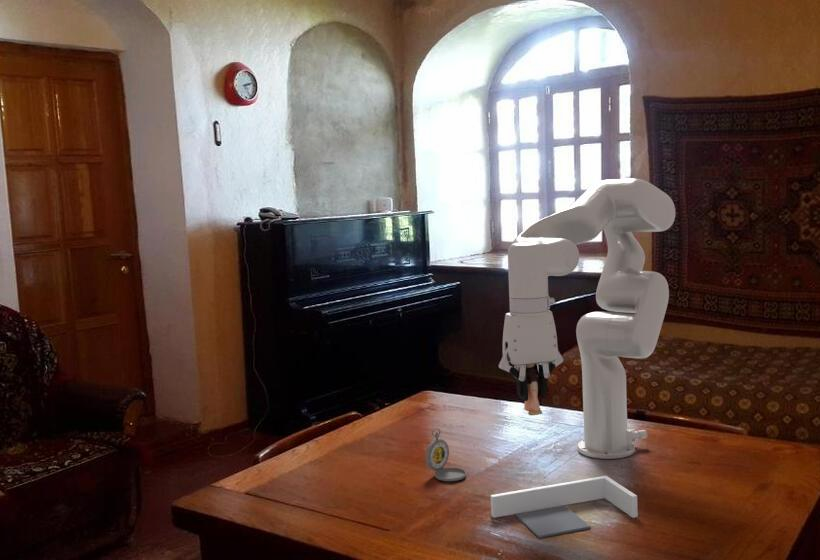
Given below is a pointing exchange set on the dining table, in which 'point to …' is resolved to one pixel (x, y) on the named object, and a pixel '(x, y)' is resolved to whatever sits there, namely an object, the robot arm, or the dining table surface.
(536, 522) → the slate mat
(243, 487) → the dining table surface
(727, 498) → the dining table surface
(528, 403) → the grandmother figurine
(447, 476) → the pocket watch
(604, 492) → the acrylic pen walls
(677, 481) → the dining table surface
